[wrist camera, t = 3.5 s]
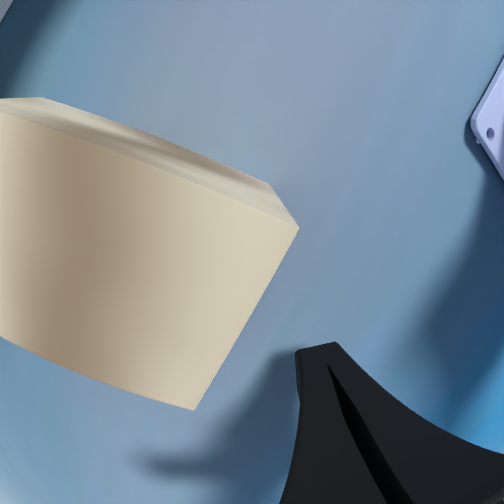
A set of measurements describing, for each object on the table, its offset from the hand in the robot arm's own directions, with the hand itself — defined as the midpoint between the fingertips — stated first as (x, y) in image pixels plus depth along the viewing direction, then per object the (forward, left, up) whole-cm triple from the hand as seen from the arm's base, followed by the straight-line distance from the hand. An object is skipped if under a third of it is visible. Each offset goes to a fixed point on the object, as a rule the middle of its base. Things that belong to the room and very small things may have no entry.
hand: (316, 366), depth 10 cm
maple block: (+8, 0, -3) cm, 8 cm away
